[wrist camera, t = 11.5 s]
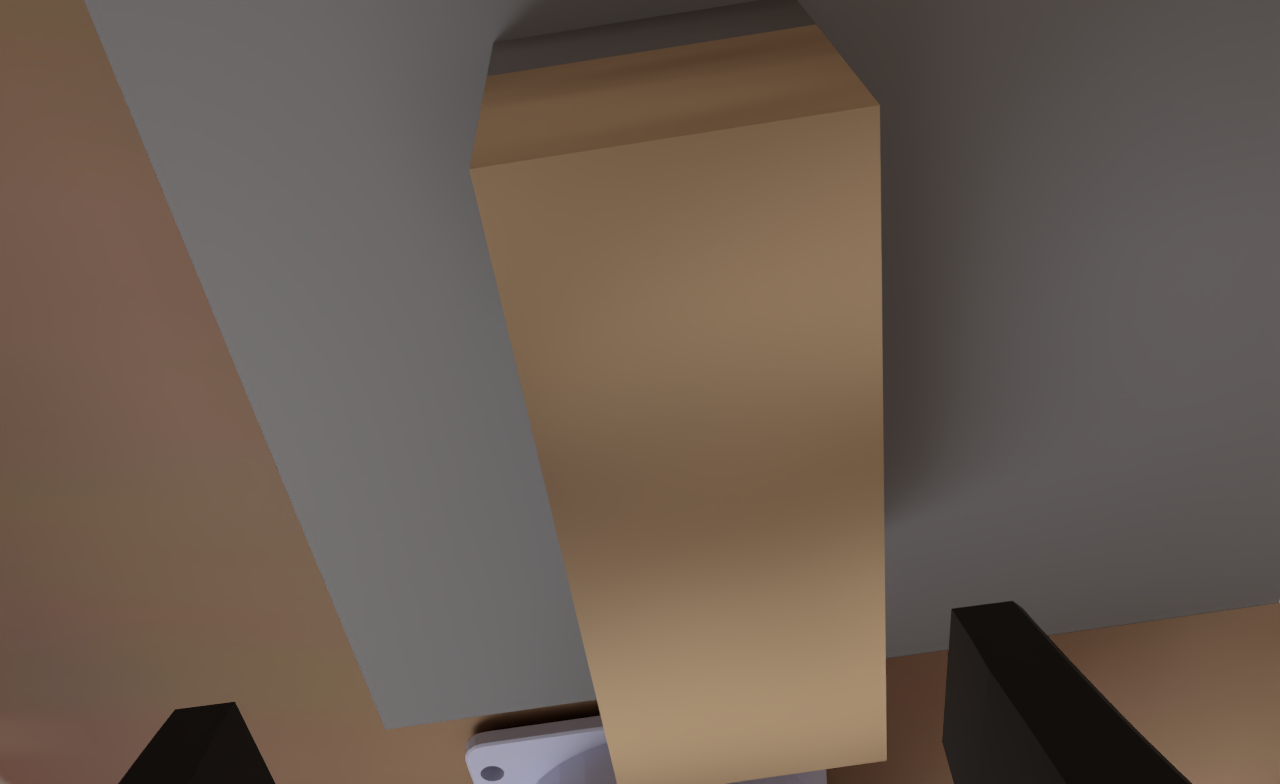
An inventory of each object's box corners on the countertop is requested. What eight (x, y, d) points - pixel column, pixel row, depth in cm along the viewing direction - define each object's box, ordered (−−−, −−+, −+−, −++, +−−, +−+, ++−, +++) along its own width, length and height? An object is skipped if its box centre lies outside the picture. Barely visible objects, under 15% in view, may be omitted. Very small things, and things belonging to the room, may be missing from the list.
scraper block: (823, 554, 19) (886, 760, 16) (609, 586, 19) (620, 798, 16) (792, -6, 14) (879, 105, 10) (493, 42, 14) (468, 168, 10)
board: (1718, 483, 22) (1788, 530, 21) (395, 672, 22) (385, 729, 21) (2276, -516, 13) (2459, -539, 12) (71, -163, 14) (22, -148, 12)
